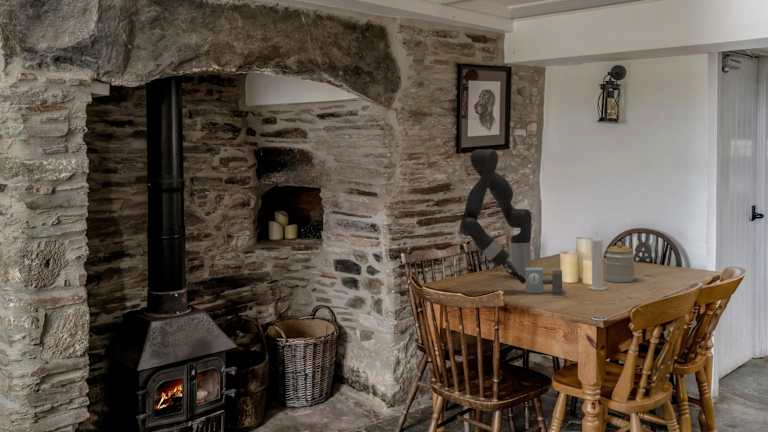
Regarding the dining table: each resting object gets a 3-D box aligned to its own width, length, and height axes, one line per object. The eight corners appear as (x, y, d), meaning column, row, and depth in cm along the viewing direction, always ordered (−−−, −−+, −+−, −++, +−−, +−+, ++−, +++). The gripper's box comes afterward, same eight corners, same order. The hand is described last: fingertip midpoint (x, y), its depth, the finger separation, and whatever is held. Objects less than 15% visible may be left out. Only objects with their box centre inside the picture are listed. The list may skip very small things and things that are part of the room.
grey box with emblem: (526, 290, 313) (526, 267, 312) (552, 290, 310) (552, 267, 309) (526, 293, 307) (525, 270, 306) (552, 293, 304) (552, 270, 303)
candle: (594, 291, 311) (594, 233, 309) (586, 288, 318) (585, 231, 315) (609, 289, 313) (608, 232, 311) (600, 286, 320) (599, 230, 317)
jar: (636, 282, 325) (636, 244, 323) (606, 283, 327) (606, 244, 325) (633, 277, 337) (632, 240, 336) (604, 277, 340) (603, 240, 338)
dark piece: (499, 291, 319) (498, 269, 318) (564, 291, 312) (564, 269, 311) (497, 297, 307) (496, 274, 306) (564, 297, 300) (564, 274, 299)
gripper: (500, 249, 304) (530, 279, 302) (503, 245, 317) (531, 273, 315) (488, 262, 306) (517, 291, 304) (491, 257, 319) (519, 285, 317)
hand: (524, 282), depth 310 cm, fingers closed
